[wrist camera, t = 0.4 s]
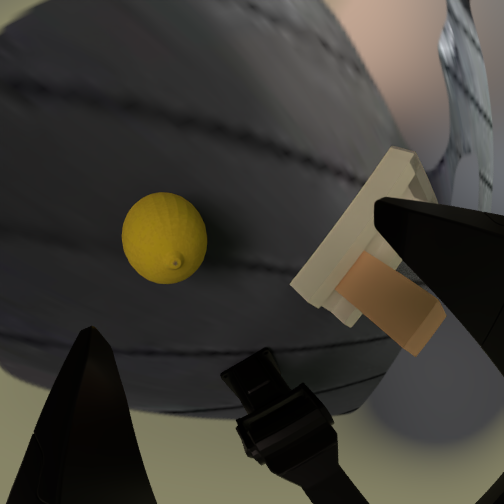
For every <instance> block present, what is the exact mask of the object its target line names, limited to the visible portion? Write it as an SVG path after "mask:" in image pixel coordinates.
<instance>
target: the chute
mask: <svg viewBox="0 0 504 504" xmlns="http://www.w3.org/2000/svg"><path fill="white" fill-rule="evenodd" d="M383 197H392V198H400V199H408V200H415V201H422V202H429V203H436V204H438V202H437V199H436V197H435V194H434V192H433V189H432V187H431V184H430V182H429V180H428V177H427V175H426V173H425V171H424V169H423V166H422V164H421V162H420V160H419V158H418V156H417V154H416V152H414V151H411V150H407V149H403V148H399V147H395V146H391V147H390V149H389V150H388V152H387V153H386V154H385V156H384V157H383V159H382V160H381V162H380V163H379V165H378V166H377V167H376V169H375V170H374V172H373V173H372V175H371V176H370V177H369V179H368V180H367V182H366V183H365V185H364V186H363V187H362V189H361V190H360V192H359V193H358V194H357V196H356V197H355V198H354V200H353V201H352V203H351V204H350V205H349V207H348V208H347V209H346V211H345V212H344V214H343V215H342V216H341V218H340V219H339V220H338V222H337V223H336V224H335V226H334V227H333V228H332V230H331V231H330V232H329V234H328V235H327V236H326V238H325V239H324V240H323V242H322V243H321V244H320V246H319V247H318V248H317V250H316V251H315V252H314V253H313V255H312V256H311V257H310V259H309V260H308V261H307V263H306V264H305V265H304V266H303V268H302V269H301V270H300V271H299V273H298V274H297V275H296V277H295V278H294V279H293V280H292V282H291V283H290V285H291V286H292V287H293V288H294V289H295V290H296V291H297V292H298V293H299V294H300V295H301V296H302V297H303V298H304V299H305V300H306V301H307V302H308V303H310V304H312V305H313V306H315V307H317V308H318V309H319V308H320V306H322V307H324V308H326V309H327V310H329V311H330V312H332V313H333V314H334V315H335V316H336V317H337V318H338V319H339V320H340V321H341V322H342V323H343V324H345V325H347V326H348V327H350V328H351V327H352V326H353V325H354V324H355V322H356V321H357V320H358V319H359V317H360V316H361V315H362V314H363V313H362V312H361V311H359V310H358V309H357V308H356V307H355V306H354V305H352V304H351V303H350V302H349V301H348V300H346V299H345V298H344V297H343V296H342V295H341V294H339V293H338V292H337V291H336V290H335V288H336V286H337V285H338V284H339V283H340V281H341V280H342V279H343V277H344V276H345V275H346V273H347V272H348V271H349V269H350V268H351V267H352V266H353V264H354V263H355V262H356V260H357V259H358V257H359V256H360V255H361V253H362V252H363V251H366V252H367V253H369V254H371V255H372V256H374V257H375V258H377V259H379V260H380V261H382V262H383V263H385V264H386V265H388V266H389V267H391V268H392V269H394V270H396V269H397V267H398V266H399V264H400V263H401V261H402V259H401V258H400V257H399V256H398V254H397V253H396V252H395V251H394V250H393V248H392V247H391V246H390V245H389V244H388V243H387V241H386V240H385V239H384V238H383V237H382V236H381V235H380V233H379V232H378V231H377V230H376V228H375V226H374V203H375V201H376V200H378V199H380V198H383Z"/></svg>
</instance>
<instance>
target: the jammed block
mask: <svg viewBox="0 0 504 504" xmlns="http://www.w3.org/2000/svg"><path fill="white" fill-rule="evenodd" d="M335 290H336V291H337V292H338V293H339V294H341V295H342V296H343V297H344V298H345V299H346V300H348V301H349V302H350V303H351V304H352V305H354V306H355V307H356V308H357V309H358V310H359V311H361V312H362V313H363V314H364V315H365V316H366V317H368V318H369V319H370V320H371V321H372V322H373V323H375V324H376V325H377V326H378V327H379V328H380V329H382V330H383V331H384V332H385V333H386V334H387V335H389V336H390V337H391V338H392V339H393V340H394V341H395V342H397V343H398V344H399V345H400V346H401V347H402V348H404V349H405V350H407V351H408V352H409V353H411V354H412V355H414V356H415V357H416V356H417V355H418V353H419V352H420V351H421V350H422V349H423V347H424V346H425V345H426V343H427V342H428V341H429V339H430V338H431V337H432V335H433V334H434V333H435V331H436V330H437V329H438V327H439V326H440V325H441V323H442V322H443V320H444V319H445V317H446V314H445V312H444V310H443V308H442V306H441V304H440V301H439V300H438V299H437V298H435V297H434V296H433V295H431V294H430V293H428V292H427V291H425V290H424V289H422V288H421V287H420V286H418V285H417V284H415V283H414V282H412V281H411V280H409V279H408V278H406V277H405V276H403V275H402V274H400V273H399V272H397V271H396V270H394V269H392V268H391V267H389V266H388V265H386V264H385V263H383V262H382V261H380V260H379V259H377V258H375V257H374V256H372V255H371V254H369V253H367V252H366V251H363V252H362V253H361V255H360V256H359V257H358V259H357V260H356V262H355V263H354V264H353V266H352V267H351V268H350V269H349V271H348V272H347V273H346V275H345V276H344V277H343V279H342V280H341V281H340V283H339V284H338V285H337V286H336V288H335Z"/></svg>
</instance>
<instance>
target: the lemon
mask: <svg viewBox="0 0 504 504" xmlns="http://www.w3.org/2000/svg"><path fill="white" fill-rule="evenodd" d="M122 242H123V248H124V252H125V254H126V256H127V258H128V260H129V262H130V264H131V265H132V266H133V268H134V269H135V270H136V271H137V272H138V273H139V274H140V275H142V276H143V277H145V278H146V279H148V280H150V281H153V282H155V283H161V284H171V283H177V282H180V281H182V280H185V279H186V278H188V277H189V276H191V275H192V274H193V273H194V272H195V271H196V270H197V269H198V268H199V266H200V265H201V263H202V261H203V259H204V256H205V253H206V249H207V234H206V228H205V224H204V222H203V220H202V218H201V216H200V214H199V212H198V211H197V210H196V208H195V207H194V206H193V205H192V204H191V203H190V202H189V201H187V200H186V199H184V198H183V197H181V196H178V195H175V194H172V193H163V192H160V193H154V194H150V195H148V196H146V197H144V198H142V199H140V200H139V201H138V202H137V203H136V204H134V205H133V207H132V208H131V209H130V211H129V212H128V214H127V216H126V219H125V221H124V224H123V230H122Z"/></svg>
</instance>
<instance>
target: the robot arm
mask: <svg viewBox="0 0 504 504" xmlns="http://www.w3.org/2000/svg"><path fill="white" fill-rule="evenodd" d="M374 226H375V228H376V230H377V231H378V232H379V233H380V235H381V236H382V237H383V238H384V239H385V240H386V241H387V243H388V244H389V245H390V246H391V247H392V248H393V250H394V251H395V252H396V253H397V254H398V256H399V257H400V258H401V259H402V260H403V261H404V262H405V263H406V264H407V265H408V266H409V267H410V268H411V269H412V270H413V272H414V273H415V274H416V275H417V276H418V277H419V278H420V279H421V280H422V281H423V282H424V283H425V284H426V285H427V286H428V287H429V288H430V289H431V290H432V291H433V292H434V293H435V294H436V296H437V297H439V299H440V300H441V301H442V302H443V303H444V304H445V305H446V306H447V307H448V309H449V310H450V311H451V312H452V313H453V314H454V315H455V317H456V318H457V319H458V320H459V321H460V322H461V323H462V325H463V326H464V327H465V328H466V329H467V331H468V332H469V333H470V334H471V335H472V337H473V338H474V339H475V340H476V341H477V342H478V344H479V345H480V346H481V348H482V349H483V350H484V351H485V353H486V354H487V355H488V357H489V358H490V359H491V361H492V362H493V363H494V364H495V366H496V367H497V368H498V370H499V371H500V372H501V374H502V375H503V377H504V216H503V215H498V214H493V213H487V212H482V211H477V210H471V209H466V208H460V207H454V206H448V205H442V204H436V203H429V202H422V201H415V200H408V199H400V198H392V197H383V198H380V199H378V200H376V201H375V203H374ZM220 376H221V378H222V380H223V381H224V382H225V383H226V384H227V385H228V387H229V388H230V389H231V390H232V391H233V392H234V393H235V395H236V396H237V397H238V398H239V399H240V401H241V403H242V405H243V406H244V408H245V410H246V412H247V414H248V415H246V416H244V417H242V418H238V419H236V422H237V424H238V426H237V427H236V430H237V432H238V434H239V436H240V438H241V440H242V443H243V446H244V449H245V453H246V454H247V456H248V457H250V458H254V459H255V460H256V461H258V463H259V464H260V465H263V464H266V465H267V466H268V468H269V469H270V471H271V472H272V473H274V474H276V475H277V476H279V477H281V478H283V479H285V480H287V481H289V482H292V483H294V484H296V485H298V486H300V487H302V489H303V490H304V491H305V493H306V495H307V496H308V497H309V499H310V500H311V502H312V503H313V504H369V503H368V501H367V500H366V499H365V498H364V496H363V495H362V494H361V493H360V491H359V490H358V489H357V487H356V486H355V485H354V484H353V482H352V481H351V480H350V479H349V477H348V476H347V475H346V474H345V472H344V471H343V469H342V468H341V467H340V465H339V463H338V441H337V433H336V431H335V430H334V429H333V427H332V425H333V424H334V421H333V418H332V416H331V415H330V413H329V412H328V410H327V409H326V407H325V406H324V405H323V403H322V402H321V401H320V400H319V399H318V398H317V397H316V396H315V395H314V394H313V392H312V391H311V390H310V389H309V388H308V387H307V386H306V385H305V384H304V383H301V384H300V385H299V386H298V387H296V388H295V389H293V390H291V389H290V388H289V386H288V385H287V384H286V382H285V381H284V379H283V378H282V377H281V372H280V370H279V368H278V366H277V364H276V362H275V360H274V358H273V357H272V355H271V353H270V351H269V349H268V348H264V349H262V350H260V351H259V352H257V353H255V354H254V355H252V356H250V357H249V358H247V359H245V360H243V361H242V362H240V363H238V364H237V365H235V366H233V367H231V368H229V369H228V370H226V371H224V372H222V373H221V374H220ZM6 504H157V502H156V499H155V496H154V494H153V491H152V488H151V485H150V482H149V479H148V477H147V474H146V470H145V467H144V464H143V461H142V457H141V454H140V450H139V447H138V443H137V440H136V436H135V432H134V428H133V424H132V420H131V416H130V412H129V407H128V403H127V399H126V395H125V392H124V388H123V385H122V382H121V379H120V375H119V372H118V369H117V365H116V362H115V358H114V354H113V351H112V348H111V346H110V345H109V343H108V342H107V341H106V340H105V338H104V337H103V336H102V335H101V334H100V332H99V331H98V330H97V329H96V328H95V327H94V326H90V327H88V328H85V329H83V330H81V331H80V333H79V334H78V336H77V338H76V340H75V342H74V344H73V346H72V348H71V350H70V352H69V354H68V356H67V358H66V360H65V362H64V364H63V366H62V368H61V370H60V372H59V374H58V376H57V378H56V380H55V382H54V384H53V387H52V389H51V391H50V393H49V396H48V398H47V400H46V402H45V405H44V407H43V409H42V412H41V414H40V417H39V419H38V421H37V424H36V427H35V429H34V434H32V437H31V439H30V442H29V445H28V448H27V451H26V453H25V456H24V458H23V461H22V464H21V466H20V468H19V471H18V474H17V476H16V478H15V481H14V484H13V486H12V489H11V491H10V494H9V497H8V500H7V502H6ZM475 504H504V472H503V474H502V475H501V476H500V477H499V478H498V480H497V481H496V482H495V483H494V484H493V485H492V486H491V487H490V489H489V490H488V491H487V492H486V493H485V494H484V495H483V496H482V497H481V498H480V499H479V500H478V501H477V502H476V503H475Z"/></svg>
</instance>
